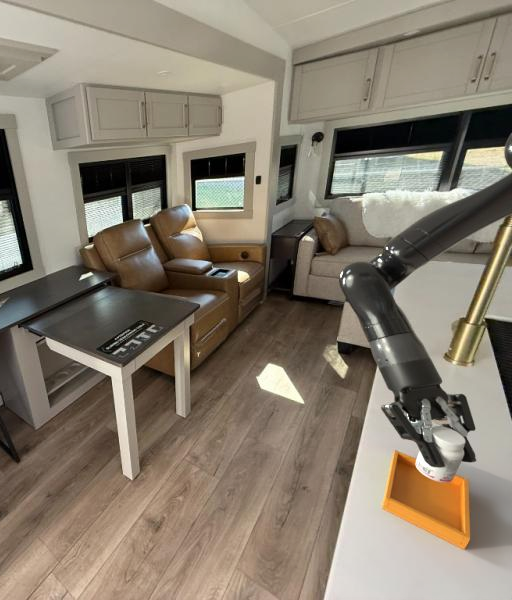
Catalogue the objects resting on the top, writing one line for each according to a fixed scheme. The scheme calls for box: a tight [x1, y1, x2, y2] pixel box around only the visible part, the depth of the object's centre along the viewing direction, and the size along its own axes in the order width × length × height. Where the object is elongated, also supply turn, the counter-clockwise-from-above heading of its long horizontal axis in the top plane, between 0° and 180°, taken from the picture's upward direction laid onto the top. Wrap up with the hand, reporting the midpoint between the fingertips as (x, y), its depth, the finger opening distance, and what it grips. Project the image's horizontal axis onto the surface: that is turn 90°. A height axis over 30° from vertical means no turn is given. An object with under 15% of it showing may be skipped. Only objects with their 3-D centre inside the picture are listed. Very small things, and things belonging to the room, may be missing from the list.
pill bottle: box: [416, 425, 465, 483], centre depth 53 cm, size 5×5×8 cm
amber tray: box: [381, 450, 471, 551], centre depth 57 cm, size 10×13×3 cm
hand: (452, 463), depth 52 cm, fingers closed on pill bottle, 4 cm apart
